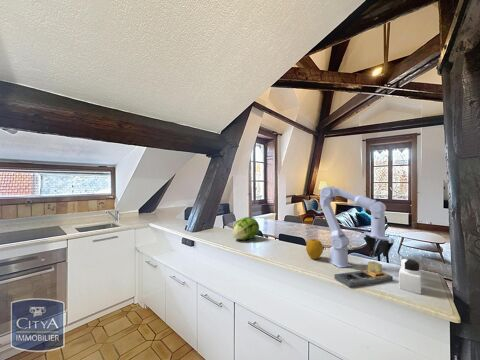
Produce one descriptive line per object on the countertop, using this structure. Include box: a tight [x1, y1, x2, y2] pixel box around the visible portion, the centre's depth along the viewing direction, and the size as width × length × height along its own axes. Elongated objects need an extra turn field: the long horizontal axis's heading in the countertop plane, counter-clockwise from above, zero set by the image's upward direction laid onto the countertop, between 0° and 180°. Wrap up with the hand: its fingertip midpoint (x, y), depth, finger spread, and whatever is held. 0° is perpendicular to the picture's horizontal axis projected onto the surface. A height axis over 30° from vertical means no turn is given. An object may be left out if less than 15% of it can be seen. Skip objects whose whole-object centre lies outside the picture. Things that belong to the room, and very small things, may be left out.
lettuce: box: [232, 216, 260, 241], centre depth 167 cm, size 18×23×19 cm
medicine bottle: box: [398, 258, 422, 295], centre depth 89 cm, size 7×7×12 cm
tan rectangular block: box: [367, 261, 383, 276], centre depth 99 cm, size 4×4×7 cm
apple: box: [305, 238, 324, 260], centre depth 124 cm, size 10×10×12 cm
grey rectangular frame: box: [333, 269, 394, 289], centre depth 97 cm, size 9×25×2 cm, turn 107°
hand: (378, 253), depth 102 cm, fingers open, 7 cm apart
